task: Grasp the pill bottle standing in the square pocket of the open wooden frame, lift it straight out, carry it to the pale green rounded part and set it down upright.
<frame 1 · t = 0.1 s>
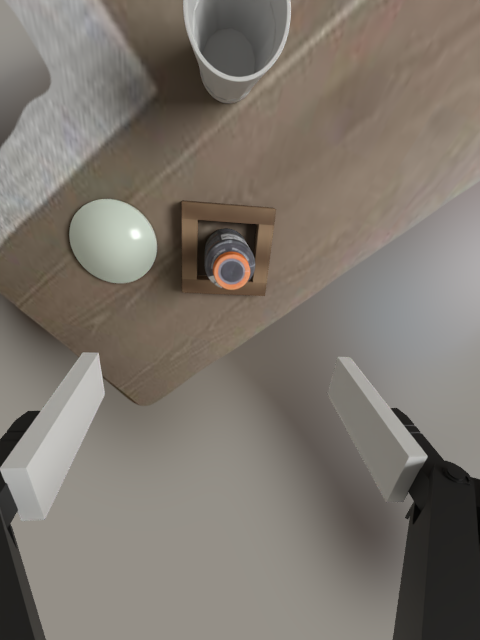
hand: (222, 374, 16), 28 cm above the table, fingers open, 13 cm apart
pale green rounded part: (115, 242, 39), on the table
open wooden frame: (226, 249, 41), on the table
cup: (228, 69, 32), on the table
pill bottle: (226, 249, 41), resting in open wooden frame
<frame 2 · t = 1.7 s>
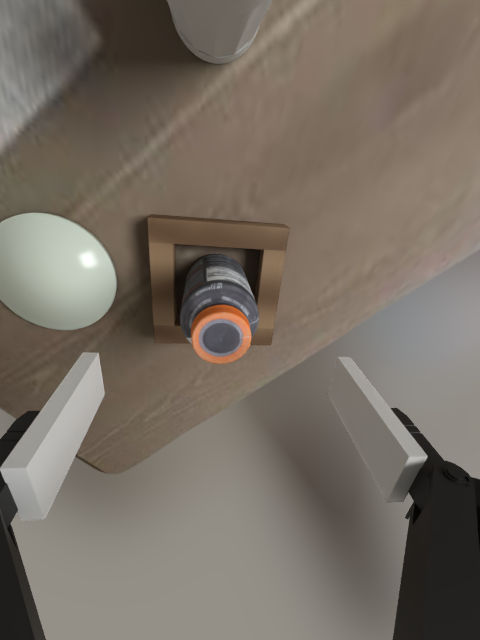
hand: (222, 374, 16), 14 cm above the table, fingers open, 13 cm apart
pale green rounded part: (55, 274, 27), on the table
open wooden frame: (216, 282, 29), on the table
cup: (216, 5, 20), on the table
pill bottle: (216, 281, 29), resting in open wooden frame
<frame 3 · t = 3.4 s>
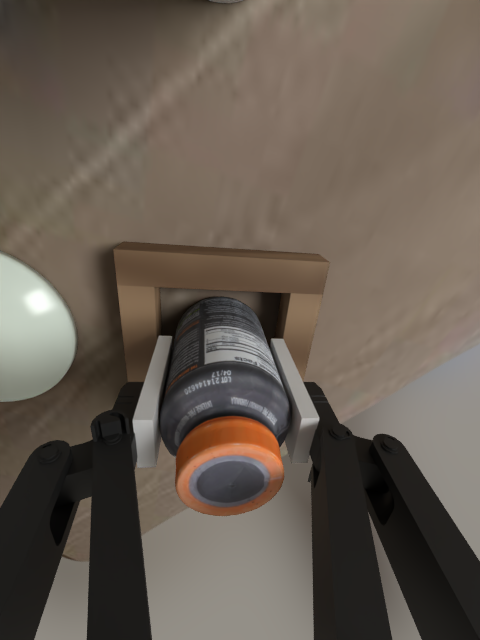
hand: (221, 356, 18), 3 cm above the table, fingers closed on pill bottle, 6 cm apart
open wooden frame: (219, 333, 20), on the table
pill bottle: (219, 332, 20), resting in open wooden frame, touching gripper
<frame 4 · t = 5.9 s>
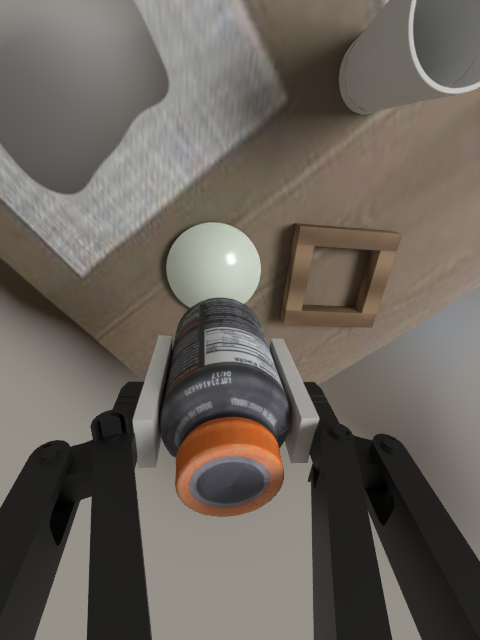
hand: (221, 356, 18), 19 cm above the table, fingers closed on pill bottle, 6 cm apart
pale green rounded part: (214, 269, 34), on the table
open wooden frame: (333, 276, 36), on the table
cup: (370, 75, 28), on the table
pill bottle: (219, 332, 20), point 16 cm above the table, touching gripper
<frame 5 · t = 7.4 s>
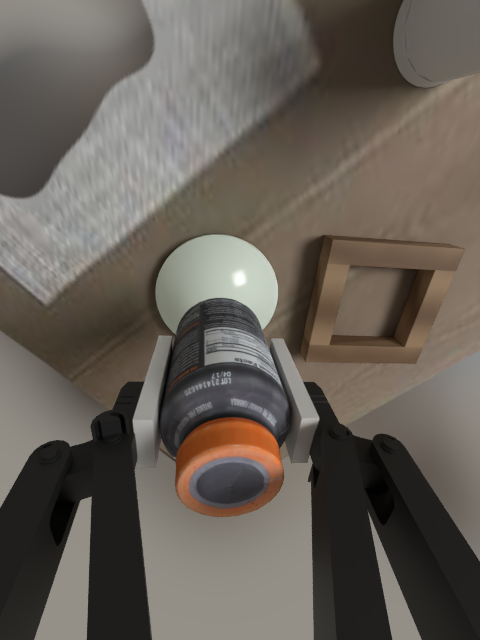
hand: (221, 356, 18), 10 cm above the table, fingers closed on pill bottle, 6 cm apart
pale green rounded part: (217, 294, 27), on the table
open wooden frame: (369, 301, 28), on the table
cup: (436, 30, 20), on the table
pill bottle: (219, 332, 20), point 7 cm above the table, touching gripper
when the fingers open (5 cm above the table, at t = 8.7 s): pill bottle drops 1 cm, resting on pale green rounded part.
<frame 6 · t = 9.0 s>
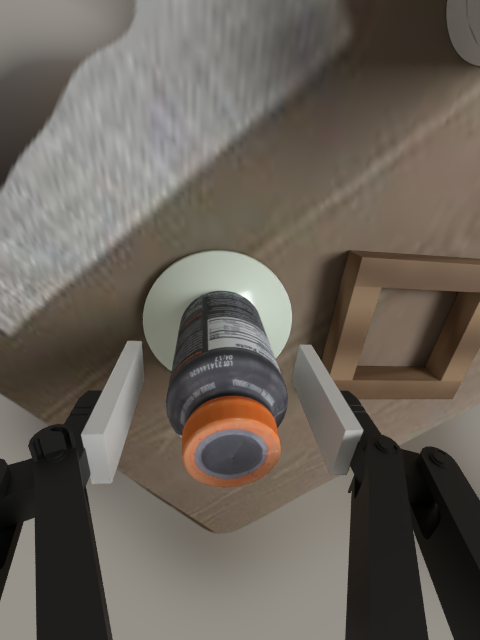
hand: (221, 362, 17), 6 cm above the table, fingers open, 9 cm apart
pale green rounded part: (218, 321, 22), on the table
open wooden frame: (399, 326, 24), on the table
pill bottle: (221, 324, 21), point 1 cm above the table, touching pale green rounded part
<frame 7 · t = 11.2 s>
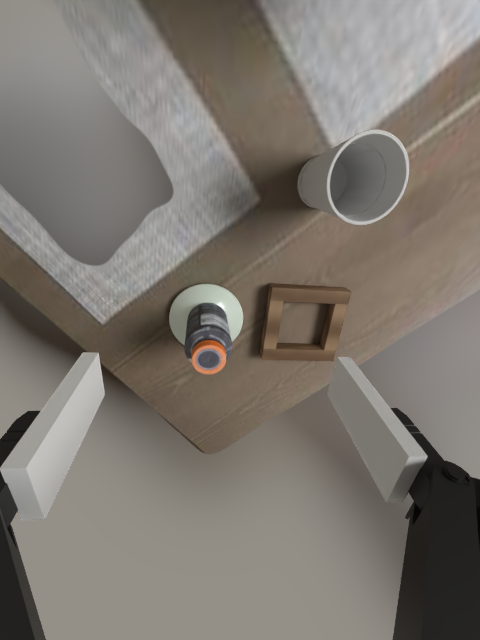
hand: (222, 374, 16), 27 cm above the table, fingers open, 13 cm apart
pale green rounded part: (206, 317, 44), on the table
open wooden frame: (301, 321, 46), on the table
cup: (320, 182, 38), on the table
pill bottle: (207, 319, 43), point 1 cm above the table, touching pale green rounded part
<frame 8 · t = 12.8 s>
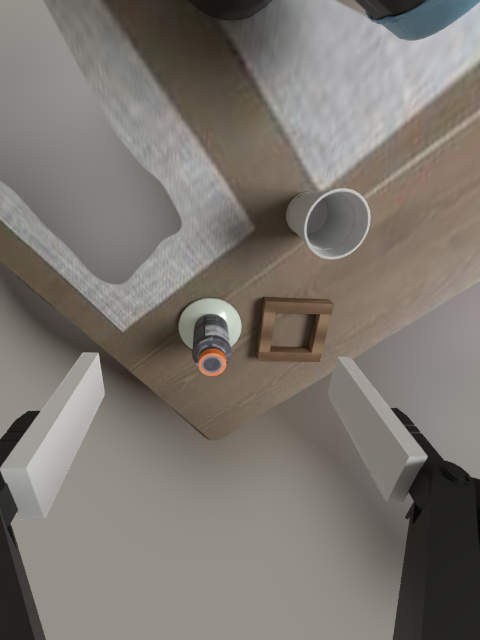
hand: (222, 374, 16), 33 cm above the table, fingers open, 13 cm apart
pale green rounded part: (210, 325, 51), on the table
open wooden frame: (291, 328, 53), on the table
cup: (305, 213, 44), on the table
pill bottle: (211, 327, 51), point 1 cm above the table, touching pale green rounded part
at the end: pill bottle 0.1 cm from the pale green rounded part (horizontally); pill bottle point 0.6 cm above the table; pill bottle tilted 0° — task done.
